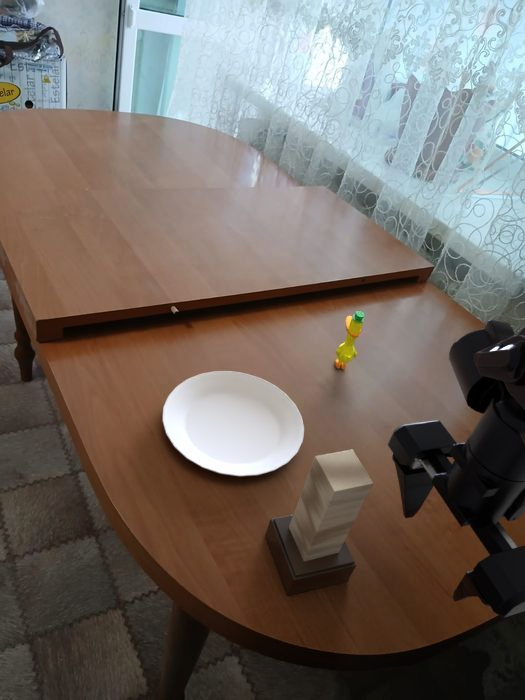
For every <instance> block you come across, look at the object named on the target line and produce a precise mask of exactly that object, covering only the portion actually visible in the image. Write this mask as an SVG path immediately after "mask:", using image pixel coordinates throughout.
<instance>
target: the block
mask: <svg viewBox="0 0 525 700" xmlns="http://www.w3.org/2000/svg"><path fill="white" fill-rule="evenodd" d="M373 485H374V482H373V480H372V479H371V476H370V475H369V473H368V472H367V470H366V469H365V467H364V466H363V464H362V462H361V461H360V459H359V458H358V456H357V454H356V452H355V451H354V449H347V450H343V451H336V452H331V453H326V454H319V455H314V459H313V461H312V464H311V467H310V469H309V472H308V475H307V477H306V480H305V483H304V485H303V488H302V491H301V493H300V496H299V499H298V501H297V504H296V506H295V509H294V512H293V514H292V515H293V517H292V520H291V522H290V525H289V529H290V531H291V533H292V536H293V538H294V540H295V542H296V545H297V547H298V549H299V551H300V554H301V556H302V558H303V560H304V562H305V561H308V560H312V559H316V558H320V557H324V556H328V555H331V554H335V553H339V551H340V549H341V547H342V545H343V543H344V541H345V542H346V539H347V537H348V535H349V533H350V531H351V530H352V527H353V526H354V523H355V521H356V520H357V517H358V515H359V513H360V512H361V509H362V507H363V506H364V504H365V501H366V499H367V498H368V495H369V493H370V492H371V489H372V487H373Z"/></svg>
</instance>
